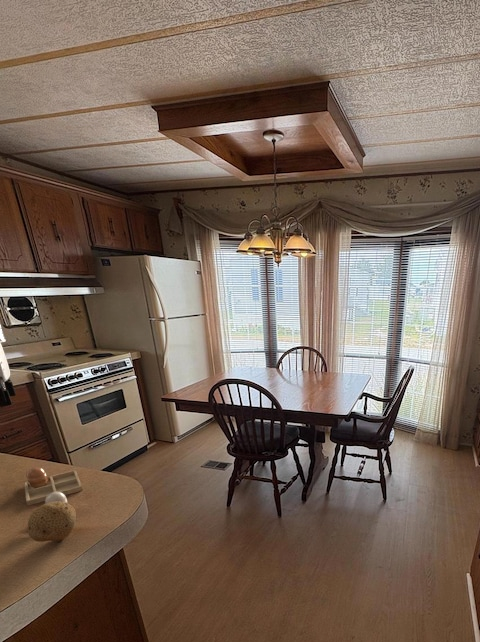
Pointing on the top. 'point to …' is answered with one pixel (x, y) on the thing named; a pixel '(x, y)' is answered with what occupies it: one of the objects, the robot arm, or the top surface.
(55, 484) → the cream divided tray
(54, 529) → the natural sponge
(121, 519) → the top surface
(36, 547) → the top surface
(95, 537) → the top surface
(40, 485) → the brown egg
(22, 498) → the top surface
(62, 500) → the white egg
